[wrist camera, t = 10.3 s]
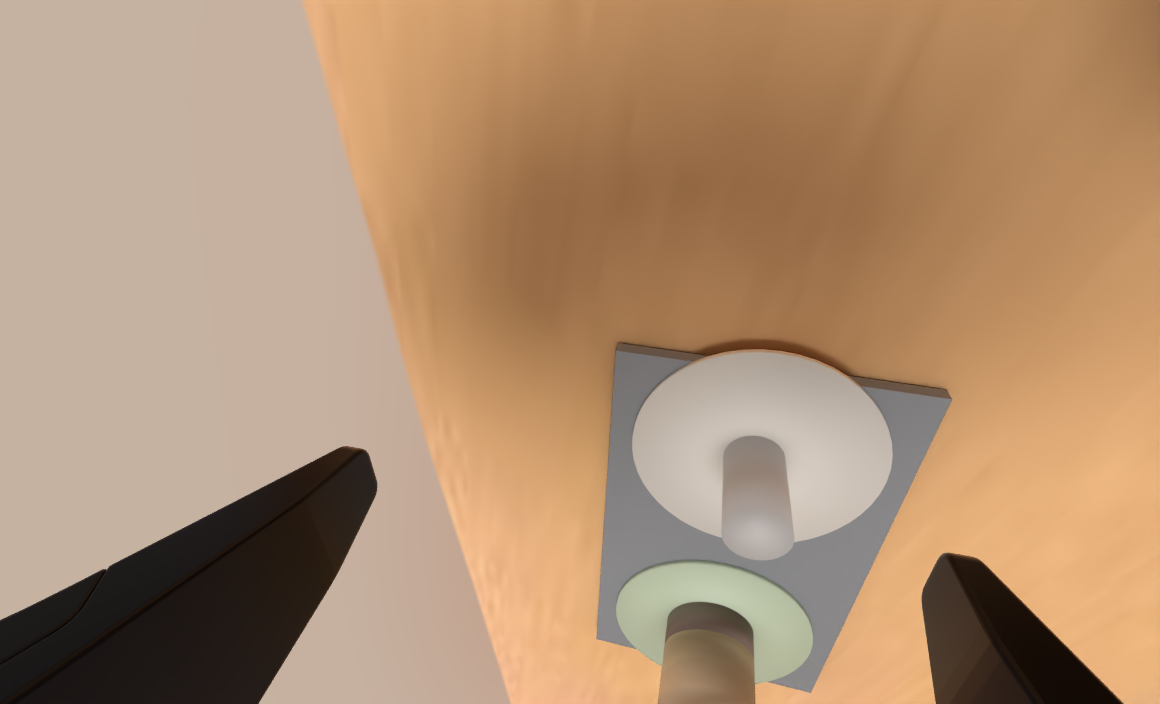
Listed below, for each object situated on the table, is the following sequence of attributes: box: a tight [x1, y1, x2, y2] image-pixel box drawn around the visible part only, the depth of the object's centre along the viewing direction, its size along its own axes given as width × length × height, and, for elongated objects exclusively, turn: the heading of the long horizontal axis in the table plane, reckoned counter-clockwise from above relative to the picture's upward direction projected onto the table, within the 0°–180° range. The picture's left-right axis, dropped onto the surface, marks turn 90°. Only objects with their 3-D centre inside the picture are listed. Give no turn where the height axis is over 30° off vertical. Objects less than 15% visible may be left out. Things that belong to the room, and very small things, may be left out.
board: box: [596, 343, 952, 693], centre depth 24 cm, size 12×22×5 cm, turn 178°
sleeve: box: [658, 602, 755, 704], centre depth 25 cm, size 4×4×7 cm
